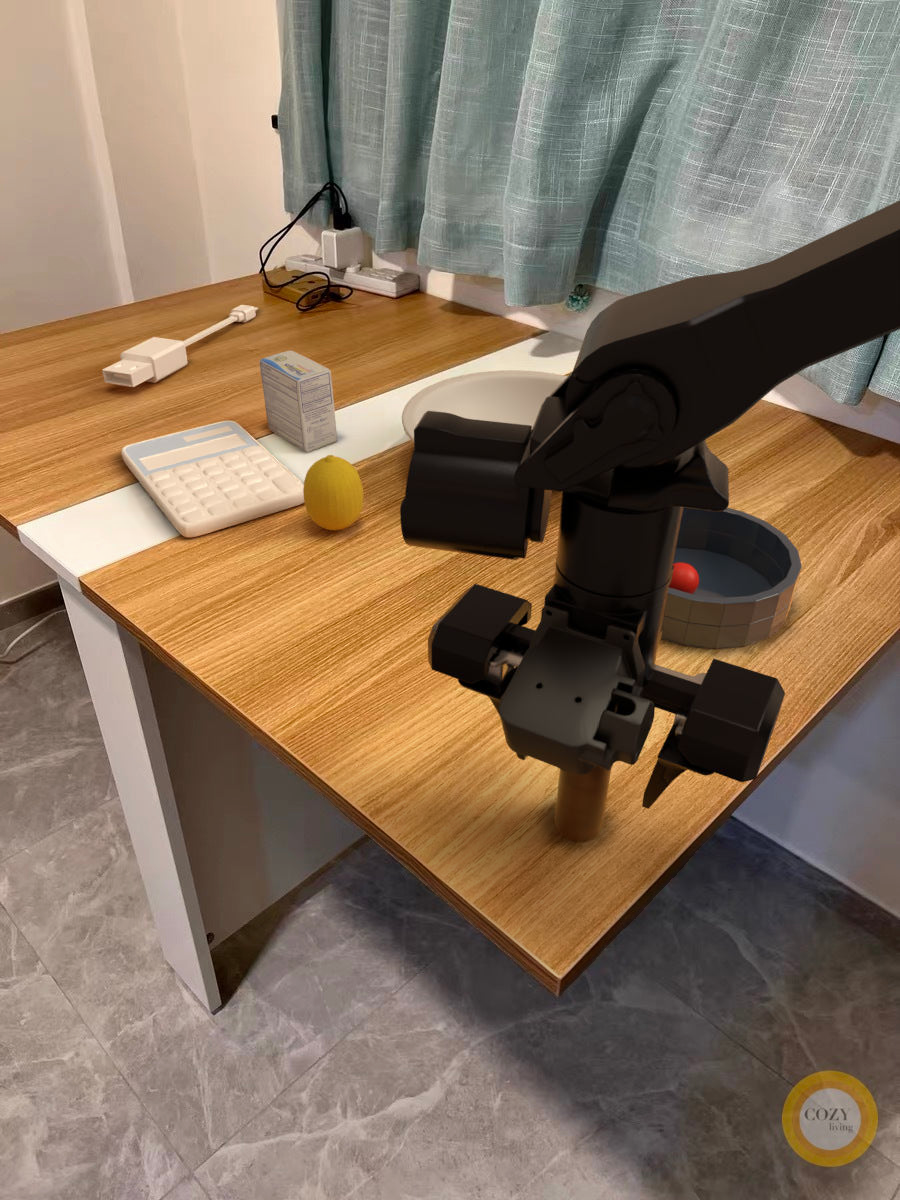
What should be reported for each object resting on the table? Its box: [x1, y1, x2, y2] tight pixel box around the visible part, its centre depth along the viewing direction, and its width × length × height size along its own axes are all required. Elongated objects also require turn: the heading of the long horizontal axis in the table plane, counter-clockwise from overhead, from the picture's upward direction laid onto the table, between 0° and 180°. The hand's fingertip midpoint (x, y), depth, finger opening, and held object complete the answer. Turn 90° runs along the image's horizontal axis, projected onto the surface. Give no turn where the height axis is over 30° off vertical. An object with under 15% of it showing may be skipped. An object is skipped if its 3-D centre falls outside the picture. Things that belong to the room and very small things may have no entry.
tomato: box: [669, 563, 699, 594], centre depth 75 cm, size 3×3×3 cm
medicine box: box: [259, 350, 338, 453], centre depth 98 cm, size 8×4×9 cm, turn 41°
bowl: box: [661, 507, 803, 650], centre depth 75 cm, size 15×15×5 cm
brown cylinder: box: [553, 766, 612, 843], centre depth 53 cm, size 3×3×11 cm
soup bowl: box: [401, 369, 569, 443], centre depth 92 cm, size 24×24×7 cm
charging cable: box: [101, 304, 259, 388], centre depth 122 cm, size 5×32×3 cm, turn 160°
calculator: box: [121, 419, 305, 538], centre depth 92 cm, size 13×20×2 cm, turn 34°
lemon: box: [303, 454, 365, 532], centre depth 82 cm, size 6×6×8 cm
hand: (584, 778), depth 54 cm, fingers open, 8 cm apart
